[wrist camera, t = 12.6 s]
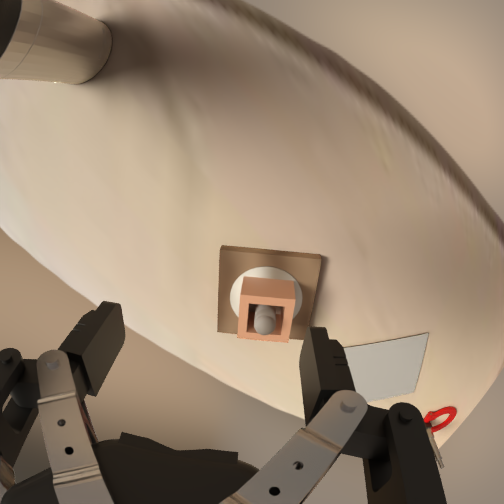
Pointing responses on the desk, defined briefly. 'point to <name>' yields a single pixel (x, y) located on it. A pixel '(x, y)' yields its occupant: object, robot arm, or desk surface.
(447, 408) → the tow hook
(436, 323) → the desk surface
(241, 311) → the collar
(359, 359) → the grey flat panel
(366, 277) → the desk surface
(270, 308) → the post stand
